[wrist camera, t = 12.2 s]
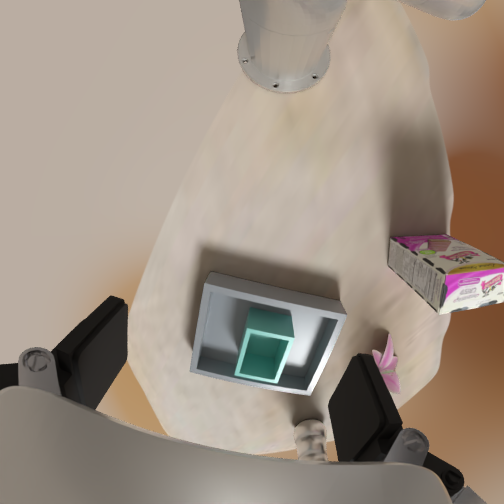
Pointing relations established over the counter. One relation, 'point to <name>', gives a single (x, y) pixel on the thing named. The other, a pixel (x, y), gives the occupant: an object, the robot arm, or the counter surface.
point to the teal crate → (264, 345)
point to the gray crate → (233, 323)
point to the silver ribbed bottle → (311, 440)
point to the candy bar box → (447, 272)
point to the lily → (388, 366)
